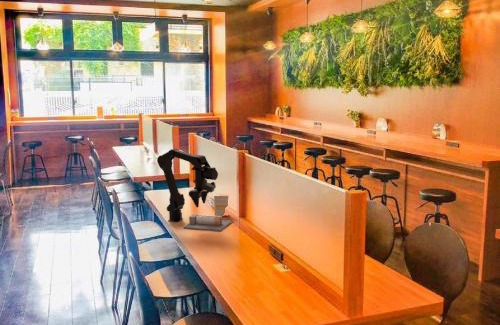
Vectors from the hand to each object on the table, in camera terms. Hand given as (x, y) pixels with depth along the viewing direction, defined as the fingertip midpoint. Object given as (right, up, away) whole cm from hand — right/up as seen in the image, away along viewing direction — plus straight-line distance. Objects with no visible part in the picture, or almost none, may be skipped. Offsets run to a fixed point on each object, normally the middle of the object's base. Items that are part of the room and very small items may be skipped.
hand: (200, 205), depth 280 cm
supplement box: (+11, -8, +19) cm, 23 cm away
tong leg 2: (+5, -10, +1) cm, 11 cm away
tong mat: (+4, -11, 0) cm, 12 cm away
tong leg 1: (+5, -10, -2) cm, 11 cm away
